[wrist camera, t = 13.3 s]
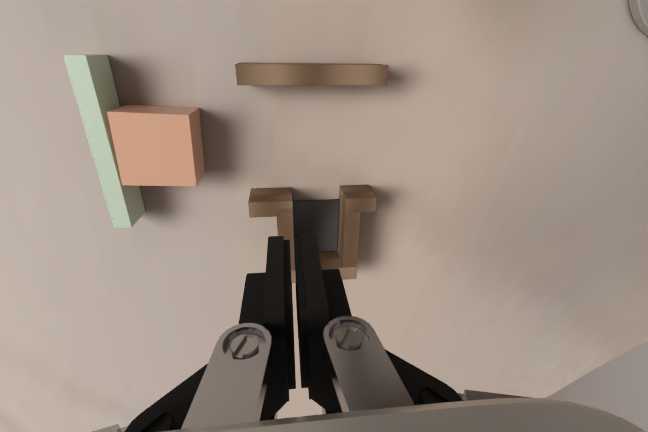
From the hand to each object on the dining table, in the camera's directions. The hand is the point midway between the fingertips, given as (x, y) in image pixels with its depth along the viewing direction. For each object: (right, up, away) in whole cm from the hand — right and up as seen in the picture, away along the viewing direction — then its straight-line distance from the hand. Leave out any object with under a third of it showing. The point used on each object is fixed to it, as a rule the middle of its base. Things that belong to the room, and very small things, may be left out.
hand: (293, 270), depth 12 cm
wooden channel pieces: (0, +6, +22) cm, 23 cm away
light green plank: (-17, +9, +18) cm, 27 cm away
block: (-13, +9, +19) cm, 25 cm away
